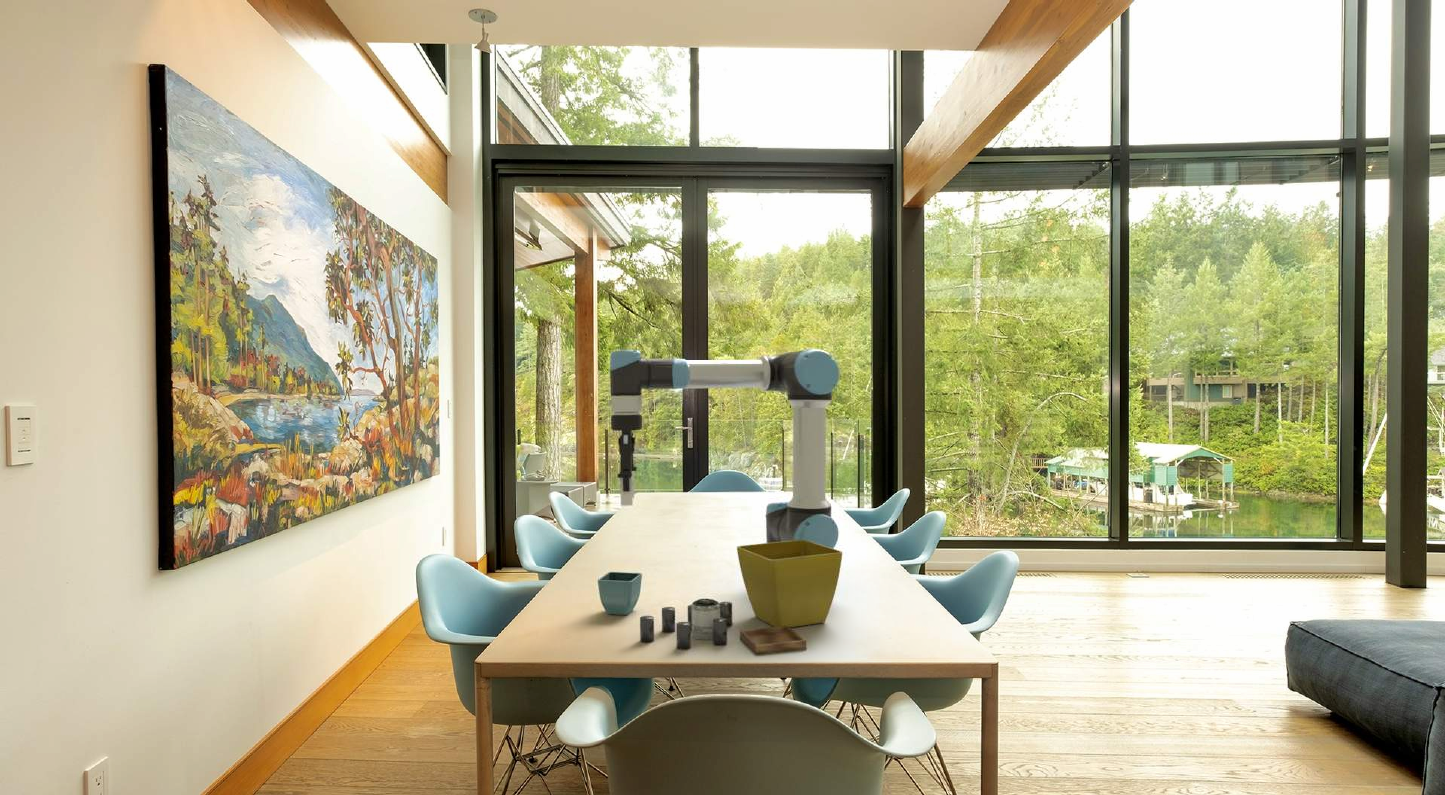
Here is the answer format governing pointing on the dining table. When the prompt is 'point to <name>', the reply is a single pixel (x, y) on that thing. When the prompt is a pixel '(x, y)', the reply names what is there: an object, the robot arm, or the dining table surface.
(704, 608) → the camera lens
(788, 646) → the tray
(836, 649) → the dining table surface
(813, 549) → the flower pot
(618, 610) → the flower pot
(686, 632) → the spacers
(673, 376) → the robot arm
